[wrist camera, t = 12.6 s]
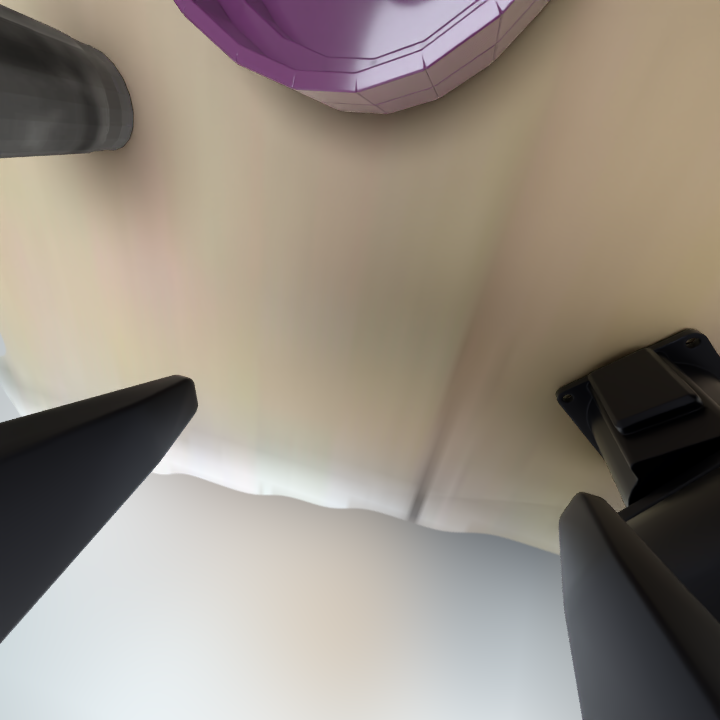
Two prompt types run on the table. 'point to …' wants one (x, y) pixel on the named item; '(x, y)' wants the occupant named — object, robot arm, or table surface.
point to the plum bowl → (364, 44)
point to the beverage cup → (57, 93)
